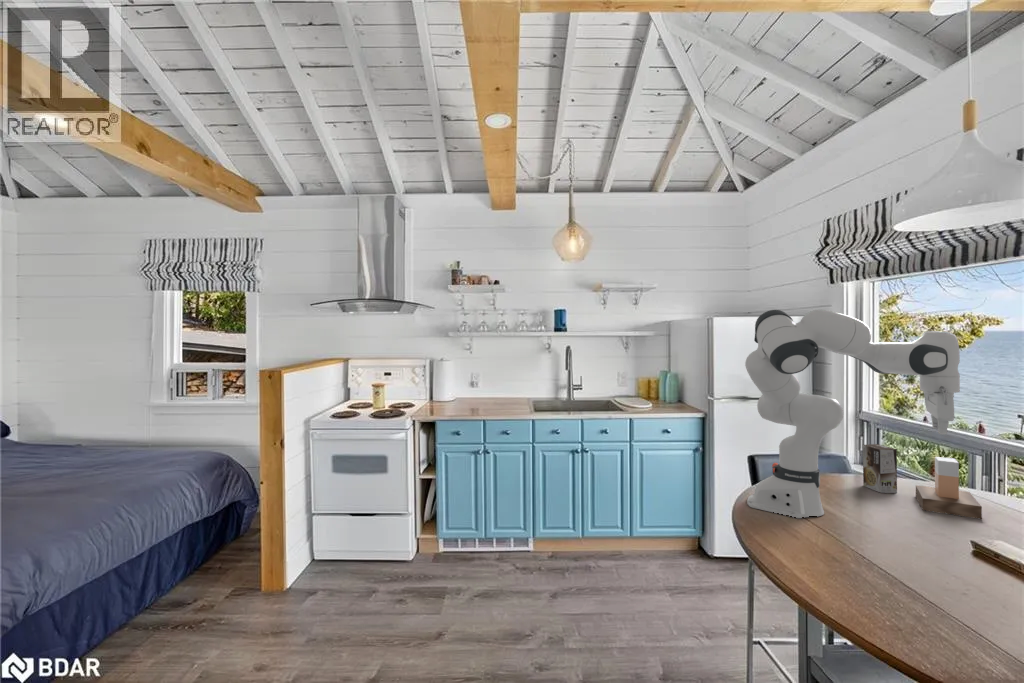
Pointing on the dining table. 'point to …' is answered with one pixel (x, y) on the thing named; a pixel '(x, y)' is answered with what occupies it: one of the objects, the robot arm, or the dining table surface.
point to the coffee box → (880, 468)
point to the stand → (948, 503)
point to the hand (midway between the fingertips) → (939, 431)
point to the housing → (947, 477)
